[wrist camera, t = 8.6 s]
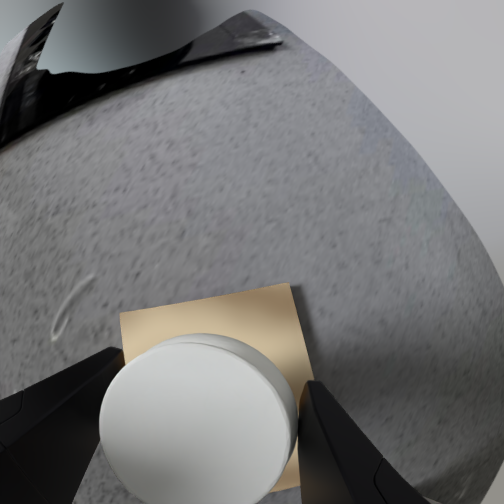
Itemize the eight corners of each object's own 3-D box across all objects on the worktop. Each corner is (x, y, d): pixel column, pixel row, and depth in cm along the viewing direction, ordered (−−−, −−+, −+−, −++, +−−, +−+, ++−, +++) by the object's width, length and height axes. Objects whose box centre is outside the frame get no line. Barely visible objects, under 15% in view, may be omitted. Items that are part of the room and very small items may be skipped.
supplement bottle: (265, 350, 15) (306, 292, 7) (279, 451, 13) (340, 527, 4) (159, 360, 15) (64, 313, 6) (171, 461, 13) (91, 536, 4)
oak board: (332, 470, 17) (336, 474, 16) (161, 502, 16) (158, 506, 15) (286, 286, 23) (288, 282, 22) (124, 316, 21) (119, 313, 20)
